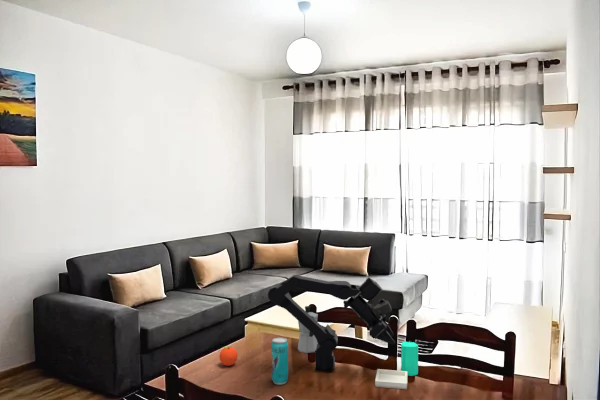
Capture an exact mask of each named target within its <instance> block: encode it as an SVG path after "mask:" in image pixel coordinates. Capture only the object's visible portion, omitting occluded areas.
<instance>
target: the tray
mask: <svg viewBox="0 0 600 400" xmlns="http://www.w3.org/2000/svg"><path fill="white" fill-rule="evenodd" d="M408 379H409V378H408V371H401V370H394V369H393V370H392V369H384V368H383V369H382V368H381V369H380V368H377V369H376V373H375V380H374V383H375V385H374V387H375V388H385V389H386V388H387V389H396V390H397V389H398V390H408Z"/></svg>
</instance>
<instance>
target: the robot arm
mask: <svg viewBox="0 0 600 400" xmlns="http://www.w3.org/2000/svg"><path fill="white" fill-rule="evenodd" d="M295 288H301V289H305V290H310V291H317V292H321V293H326V294H328V295H330V296H332V297H334V298H337V299H339V300H341V301H343V309H344V310H346V309H347V308H348V307H350V309H351V310H352V311H353V312H354V313H355V314H357V316H358V317H359V318H358V319H360V320H361V321H363V322H364V323H365V324H366V325H367V327H368V328H369V336H370V337H371V338H372V339H373V340H375V339H376V340H379V341H381V342H385V343H387V344H389V345H392V346H393V345H395V344H396V341H395V340H394V339H393V338H392V337H394V335H395V333H394V331H392V329H391V327H390V325H389V324H388V322H387V321H386V320H387V319H386V314H388V313H392V311H393V309H392V308H393V307H392V306H391V303H390V302H389V300H387V299H386V300H385V299H384V298H381V299H379V300H378V303H377V304H376V305H373V304H371V303H368V301H373V300H374V299H375V298H376V297H377V296H378V295H379V294H380V293H381V292H382V291H383V288H382V287H381V285H379V283H378V282H376V281H375V280H374V279H373V278H371V277H369V276H368V277H367V278H366V279H365V281H364V282H363V283H362V284H360V285H359V284H358V285H357V284H351V283H350V282H349V281H346V280H332V281H330V280H329V281H328V280H322V279H319V278H312V277H308V276H302V275H300V274H299V275H298V274H292V275H291V277H289V278H288V279H286V280H284V281H282V282H281V283H276V284H274V285H273V286H271V288H270V289H269V290H268V293H267V296H268V297H267V298H268V300H269V301H270V302H271V303H273V304H274V305H276V306H278V307H280V308H282V309H284V310H285V311H287V312H288V314H290V315H291V316H293V318H295V319H296V320H297V322H298V321H299V322H300V323H301V324H303V325H304V326H305V327H306V328H307V329H308V330H309V331H310V332H311V333H313V335H314V336H315V338H316V339H317V348H316V352H314V354H315V366H314V367H315V368H314V371H315V372H323V373H324V372H325V373H332V372H333V370H334V369H335V367H336V361H335V360H336V356H335V355H334V350H336V348H337V346H338V341H339V340H338V334H337V333H336V331H337V330H334V328H332V327H331V325H329V324H326V326H324V325H322V324H320V323H319V322H318V320H317V321H316V320H315V319H314V318H312V317H311V316H310V315H309V314H308V313H307V312H306V311H305V308H302V306H300V304H298V302H296V301H295V300H294V299H293V298H292V295H291V294H290V292H291V291H292V290H294V289H295Z"/></svg>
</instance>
